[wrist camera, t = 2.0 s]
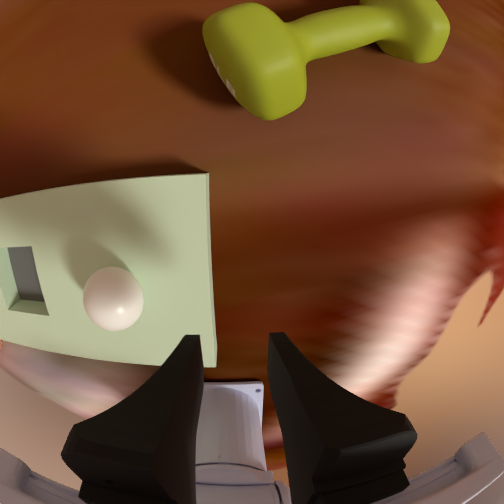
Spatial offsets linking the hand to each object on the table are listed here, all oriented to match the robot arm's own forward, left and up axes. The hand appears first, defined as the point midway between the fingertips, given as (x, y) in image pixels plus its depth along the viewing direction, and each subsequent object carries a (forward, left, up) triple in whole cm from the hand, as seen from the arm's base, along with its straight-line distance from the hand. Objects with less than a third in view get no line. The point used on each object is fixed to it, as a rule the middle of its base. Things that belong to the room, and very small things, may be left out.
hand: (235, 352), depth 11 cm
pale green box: (0, +14, -9) cm, 16 cm away
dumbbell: (+17, -6, -10) cm, 21 cm away
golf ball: (0, +8, -5) cm, 9 cm away
